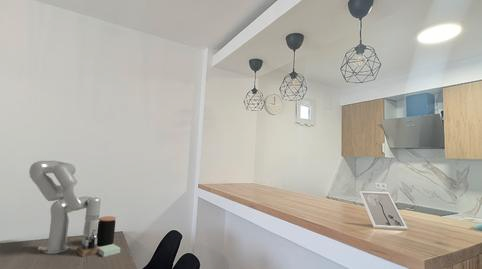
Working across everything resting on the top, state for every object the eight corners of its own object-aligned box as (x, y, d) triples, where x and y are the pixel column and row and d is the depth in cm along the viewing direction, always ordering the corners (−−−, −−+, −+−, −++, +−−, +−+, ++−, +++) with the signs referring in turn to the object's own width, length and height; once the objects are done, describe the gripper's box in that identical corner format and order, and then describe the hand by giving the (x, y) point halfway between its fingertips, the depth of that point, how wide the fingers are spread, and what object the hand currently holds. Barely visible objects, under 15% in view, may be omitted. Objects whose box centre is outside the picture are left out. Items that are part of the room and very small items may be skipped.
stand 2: (103, 256, 155) (104, 251, 155) (97, 252, 161) (97, 247, 161) (119, 252, 162) (120, 247, 163) (113, 248, 169) (113, 243, 169)
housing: (85, 250, 156) (86, 239, 156) (81, 247, 160) (82, 236, 161) (96, 247, 161) (97, 237, 161) (92, 245, 165) (93, 234, 165)
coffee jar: (110, 241, 183) (113, 215, 184) (115, 245, 175) (118, 218, 177) (93, 243, 175) (96, 217, 177) (98, 248, 168) (101, 220, 169)
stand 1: (82, 256, 153) (83, 251, 153) (76, 252, 159) (77, 247, 160) (100, 252, 161) (100, 247, 161) (93, 248, 167) (94, 243, 167)
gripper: (80, 215, 165) (77, 244, 163) (91, 221, 154) (87, 251, 152) (93, 214, 170) (90, 241, 169) (104, 219, 159) (100, 248, 158)
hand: (89, 246), depth 160 cm, fingers closed on housing, 6 cm apart
